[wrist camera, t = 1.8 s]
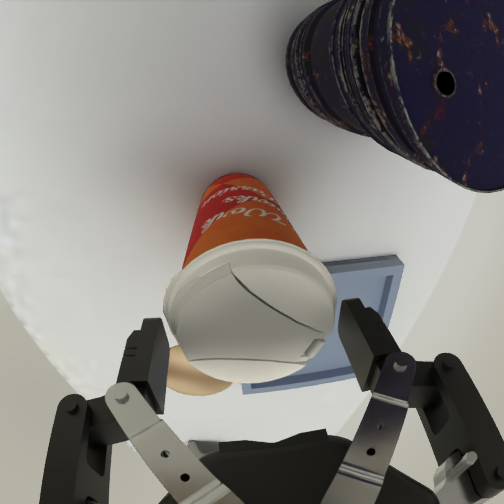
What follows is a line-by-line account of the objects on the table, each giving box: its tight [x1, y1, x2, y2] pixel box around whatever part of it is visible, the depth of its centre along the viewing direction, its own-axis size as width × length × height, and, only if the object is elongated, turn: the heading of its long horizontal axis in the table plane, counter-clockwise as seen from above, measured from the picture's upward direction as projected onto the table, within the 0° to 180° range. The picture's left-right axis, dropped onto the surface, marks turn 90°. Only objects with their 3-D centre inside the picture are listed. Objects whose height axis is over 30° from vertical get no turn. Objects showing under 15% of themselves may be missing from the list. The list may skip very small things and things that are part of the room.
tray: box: [242, 255, 404, 394], centre depth 32 cm, size 16×16×2 cm
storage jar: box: [286, 0, 504, 193], centre depth 14 cm, size 10×10×15 cm
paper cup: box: [163, 174, 337, 383], centre depth 19 cm, size 8×8×14 cm
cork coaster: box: [166, 345, 233, 396], centre depth 34 cm, size 9×9×1 cm
